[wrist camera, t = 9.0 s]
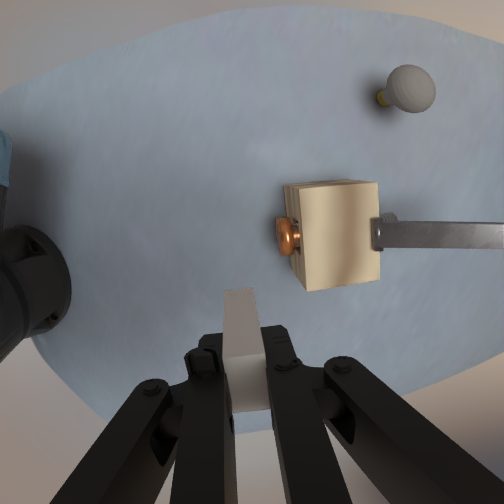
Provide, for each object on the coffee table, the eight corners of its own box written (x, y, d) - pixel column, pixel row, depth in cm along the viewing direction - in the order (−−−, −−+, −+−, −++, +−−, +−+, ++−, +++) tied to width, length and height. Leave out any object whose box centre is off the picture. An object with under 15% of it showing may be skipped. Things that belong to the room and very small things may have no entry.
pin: (277, 251, 35) (284, 261, 32) (274, 215, 34) (280, 221, 30) (385, 236, 36) (401, 244, 32) (384, 203, 35) (401, 208, 31)
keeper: (373, 248, 31) (372, 251, 30) (372, 217, 30) (371, 219, 29) (504, 250, 24) (507, 253, 23) (506, 218, 23) (509, 220, 22)
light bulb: (377, 127, 35) (421, 117, 26) (354, 89, 34) (393, 68, 24) (406, 110, 35) (452, 98, 25) (385, 74, 33) (427, 52, 24)
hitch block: (291, 267, 39) (306, 291, 31) (283, 185, 36) (298, 189, 28) (352, 258, 39) (379, 279, 31) (347, 179, 37) (377, 182, 29)
